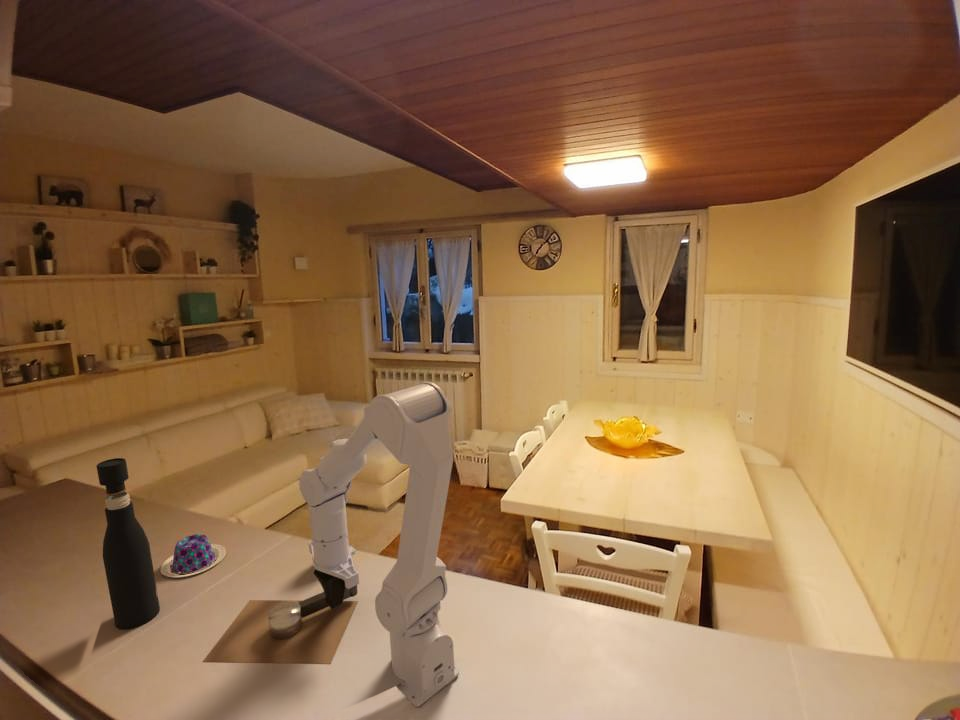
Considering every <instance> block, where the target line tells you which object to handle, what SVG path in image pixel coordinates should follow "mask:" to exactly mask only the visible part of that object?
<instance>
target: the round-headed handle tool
mask: <svg viewBox="0 0 960 720" xmlns="http://www.w3.org/2000/svg"><path fill="white" fill-rule="evenodd" d="M357 594H358V585H356V586H354V587H351V588H350V589H347V588H345V593H344V599H343V601H346V600H347V599H349V598H352V597H353V598H354V597H355V596H357ZM294 601H295V600H293V601H287V602H283V603H280V604H278V605H276V606H275V607H273V608H272V609H271V610H270V612H269V614H268V620H269V628H270V635H271V636H272V637H274V638H277V639H283V638H287V637H290V636H292V635H294V634H295V633H297V632H298V631H299V630H300V628H301V627H302V618H304V617H306V616H308V615H311V614H313V613H315V612H317V611H320V610H322V609H324V608H327V607H329V604H328V601H327V598H326V595H325V592H324V591H322V592H321V593H320V592H319V593H317V594H315V595H313V596H310V597H308V598H306V599H304V600H300V601H301V602H299V603H297V602H294Z"/></svg>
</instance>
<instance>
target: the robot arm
mask: <svg viewBox="0 0 960 720" xmlns="http://www.w3.org/2000/svg"><path fill="white" fill-rule="evenodd" d="M452 409H453V406H452V404H451V403H450V401H449V399H448V398H447V396H446V394H445V393H444V391H443V390H442V389H441V388H440V387H439V385H437V384H436V383H434V382H431V381H424V382H423V381H422V382H421V383H419V384H417V385H413V386H411V387H407V388H403V389H400V390H397V391H393V392H390V393H387V394H379V395H376V396H375V397H374V398H373V399H372V400H371V401H370V403H369V404H367V405H366V406H365V407H364V408H363V413H364V414H363V417H362V418H361V420H360V421H359V422H358V424H357V426H356V428H355V429H354V430H353V431H352V432H351V434H350V436H349V437H348V438H343V439H340V438H338V439H336V440H334V441H331V443H330V444H329V451H328V452H326V454H325V455H324V456H322V457H320V458H319V459H318V463H317V464H316V466H315V467H314V468H311V469H305V470H303V471H302V472H301V475H300V476H299V479H298V486H299V491H300V493H301V494H300V495H301V496H302V498H303V499H304V501H305V502H306V504H308V509H309V521H310V530H311V532H310V533H311V541H309V542H308V551H309V553H310V554H311V555H312V556H311V557H312V565H313V567H314V571H313V575H314V576H315V578H316V579H317V580H318V582H319V583H320V585H321V587H322V589H323V592H325V595H326V598H327V601H328V604H329V606H330V608H331V609H333V608H335V607H337V606H339V605H341V604H343V601H344V600H343V599H344V593H345V588H347V589H350V588H351V587H354V586H356V585H357V586H358V585H359V584H360V579H359V578H360V577H359V572H358V571H357V570H356V569H355V565H354V562H353V557H352V556H353V555H355V554H356V548H354V546H351V545H350V544H349V543H350V542H349V535H348V534H349V533H348V532H349V531H348V523H347V522H348V521H347V520H348V519H347V509H346V508H347V506H346V504H347V503H348V501H349V491H350V490H351V488H352V480H353V479H354V478H355V477H356V476H357V475H358V474H359V473H360V472H361V471H362V470H363V469H364V467H366V464H367V462H368V457H367V456H368V455H367V453H369V451H371V450H372V449H373V448H374V447H375V446H376V445H377V444H378V443H379V442H381V443H382V445H384V447H385V448H386V449H387V450H388V452H390V453H391V454H392V456H393V457H394V458H395V459H396V460H397V462H399V463H400V464H402V465H407V466H409V473H408V479H407V487H406V492H405V493H406V494H405V499H404V500H405V502H404V507H403V514H402V523H401V530H400V537H399V545H398V549H397V550H398V551H397V558H396V561H395V564H394V565H393V566H392V568H391V569H390V571H389V572H388V573H387V575H386V576H385V578H384V579H383V581H382V585H381V590H380V591H379V593H378V594H377V595H376V596H375V601H374V607H375V609H374V610H375V614H376V617H377V619H378V622H379V623H380V625H381V626H382V627H383V629H385V630H386V631H387V632H389V643H390V645H389V646H390V657H391V660H390V661H391V669H392V673H394V675H395V676H396V677H397V678H398V679H400V680H402V681H403V682H401V683H399V684H397V685H395V687H396V688H397V689H398V690H399V691H400V692H401V693H402V694H403V695H404V697H406V698H407V699H408V700H409V701H410V702H411V703H412V704H413V705H414V707H420V706H422V705H423V704H424V703H426V702H427V701H428V700H429V699H430V698H432V697H433V696H434V695H436V694H437V693H438V692H439V691H441V690H442V689H443V688H444V687H446V685H448V684H449V683H451V682H452V681H453V680H455V678H457V677H458V676H459V675H460V673H459V670H458V669H457V668H456V667H455V656H454V655H455V652H454V641H453V639H452V636H451V635H449V634H448V633H447V632H446V630H445V629H444V627H443V626H442V624H441V622H440V618H439V611H440V610H441V601H443V600H444V599H445V598H446V596H447V595H448V583H447V578H446V570H447V565H446V564H445V563H444V562H443V561H442V560H441V559H440V558H439V557H438V552H439V546H440V541H441V533H442V527H443V521H444V516H445V511H446V505H447V497H448V492H449V487H450V480H451V475H452V469H453V465H454V464H453V463H454V454H453V453H454V452H453V447H452V445H453V444H452V440H451V434H450V421H451V416H452V411H453V410H452Z"/></svg>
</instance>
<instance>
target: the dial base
mask: <svg viewBox="0 0 960 720" xmlns="http://www.w3.org/2000/svg"><path fill="white" fill-rule="evenodd" d="M287 601H294V602H297V603H299V602H301V601H302V600H289V599H288V600H286V599H285V600H283V599H282V600H280V599H278V600H277V599H276V600H275V599H271V600H270V599H268V600H265V599H263V600H262V599H253V600H252V599H249V600H248V601H247V603H246V604H245V606H244V607H243V608H242V609H241V611H240V612H239V614H238V615H237V616H236V617H235V618H234V620H233V621H232V623H231V624H230V625H229V627H228V628H227V629H226V631H225V632H224V633H223V634H222V635H221V637H220V638H219V640H217V642H216V643H215V644H214V646H213V648H211V649H210V651H209V653H207V655H206V656H205V658H204V659H203V660H202V663H238V664H239V663H240V664H242V663H246V664H248V663H250V664H301V665H302V664H303V665H309V664H311V665H312V664H313V665H331V664H332V662H333V660H334V658H335V655H336V653H337V651H338V648H339V646H340V644H341V642H342V639H343V637H344V635H345V633H346V630H347V627H348V626H349V623H350V620H351V619H352V616H353V614H354V612H355V609H356V607H357V605H358V603H359V600H343V604H341V605H339V606H337V607H335V608H333V609H331V608H330V606H329V607H327V608H324V609H322V610H320V611H317V612H315V613H313V614H311V615H308V616H306V617H304V618H302V627H301V628H300V630H299V631H298V632H297V633H295V634H294V635H292V636H290V637H287V638H283V639H277V638H274V637H272V636H271V635H270V628H269V620H268V614H269V612H270V610H271V609H272V608H273V607H275V606H276V605H278V604H280V603H283V602H287Z"/></svg>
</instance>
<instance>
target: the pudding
mask: <svg viewBox="0 0 960 720" xmlns="http://www.w3.org/2000/svg"><path fill="white" fill-rule="evenodd" d="M213 548H214V549H215V548H216V549H218V551H219V557H218V559H217V560H216V561H215V563H213V561H214V560H215V559H216V558H215V557H216V553H214V551H213ZM225 555H226V548H225V546H223V545H220V544H215V543H210V541H209V539H208V537H207V535H205V534H199V533H196V534H192V535H187V536H185V537H184V538H182V539H180V540H178V541H177V542H176V544H175V547H174V552H173V555H171V556H169V557H168V558H166V560H165V561H164V562H163V563H162V565H161V567H160V573H161V574H162V575H164V576H165V577H168V578H184V577H189V576H194V575H197V574H200V573H203V572H205V571H208V570H209V569H211V568H212V567H214V566H216V565H217V564H218V563H220V562H221V561H222V560H223V558H224V557H225ZM213 559H214V560H213ZM171 560H173V564H172V567H171V570H172V569H173V570H177V571H176V573H177V572H181V574H184V573H183V572H186V571H190V572H189V573H192V571H195V572H196V570H198V569H199V568H200V569H202V568H201V567H203V568H205V567H204V566H206V567H207V565H208V566H209V564H210V563H213V564H212V565H211V566H210V567H208V568H206V569H204V570H202V571H199V570H200V569H199V570H198V571H199V572H196V573H192V574H187V572H186V574H187V575H179V576H175V575H173V574H170V573H168V571H166V570H167V568H166V567H167V565H168V564H169V562H171ZM212 560H213V561H212ZM173 570H172V571H173Z"/></svg>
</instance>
